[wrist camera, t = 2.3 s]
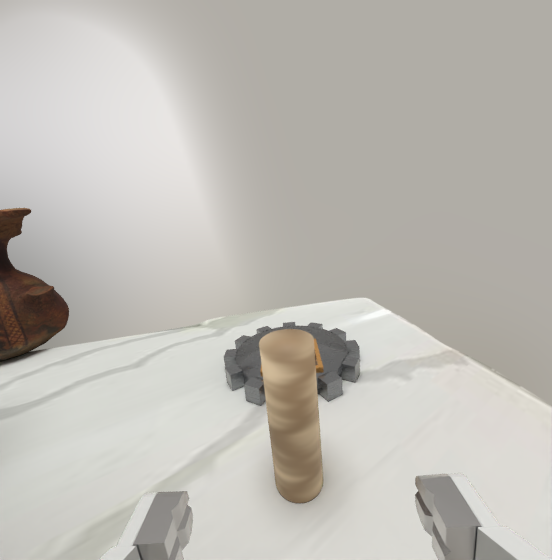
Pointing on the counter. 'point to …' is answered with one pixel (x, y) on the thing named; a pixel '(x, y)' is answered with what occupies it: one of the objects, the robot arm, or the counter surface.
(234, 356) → the sprocket
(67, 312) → the jug
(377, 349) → the counter surface
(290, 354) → the drive pin
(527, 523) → the counter surface
